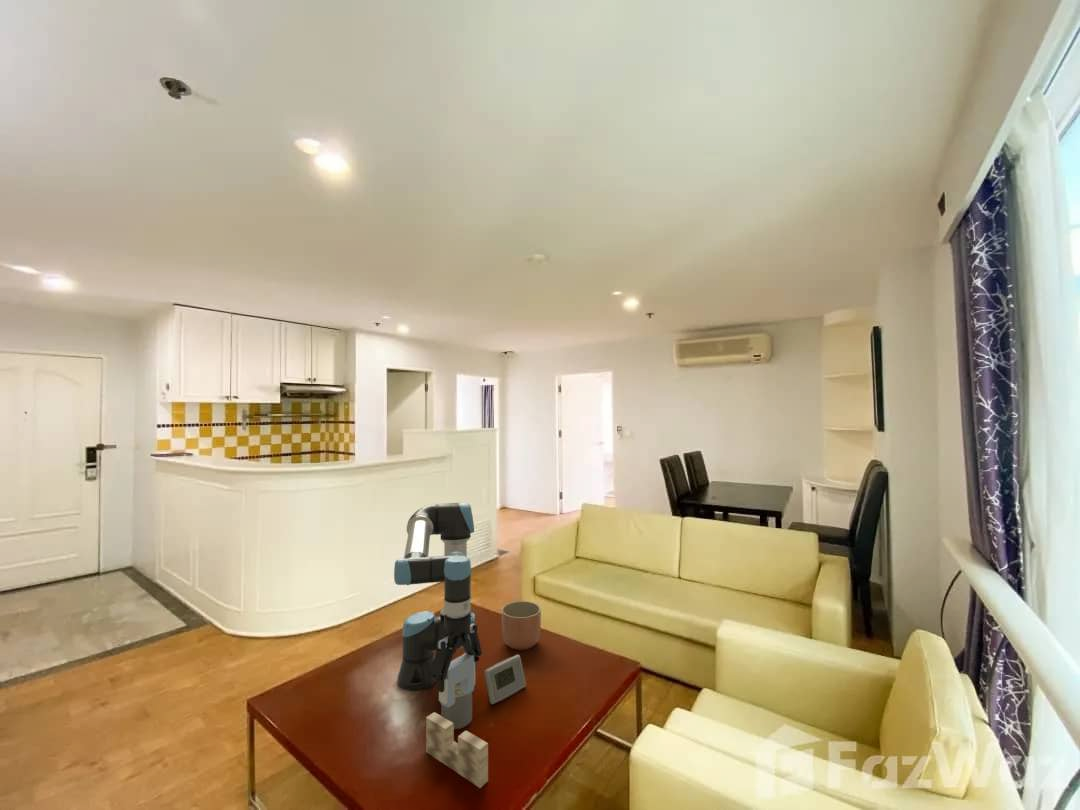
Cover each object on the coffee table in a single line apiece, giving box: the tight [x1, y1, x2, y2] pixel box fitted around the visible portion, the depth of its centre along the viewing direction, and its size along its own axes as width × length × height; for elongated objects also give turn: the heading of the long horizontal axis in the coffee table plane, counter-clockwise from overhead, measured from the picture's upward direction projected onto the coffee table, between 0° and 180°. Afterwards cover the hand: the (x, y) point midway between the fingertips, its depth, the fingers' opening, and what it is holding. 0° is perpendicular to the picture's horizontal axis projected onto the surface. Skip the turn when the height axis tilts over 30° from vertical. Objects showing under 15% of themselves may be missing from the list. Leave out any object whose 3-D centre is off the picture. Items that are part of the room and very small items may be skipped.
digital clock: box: [483, 654, 527, 705], centre depth 161 cm, size 16×9×11 cm, turn 122°
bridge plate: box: [440, 652, 475, 708], centre depth 128 cm, size 3×10×10 cm, turn 144°
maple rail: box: [425, 711, 489, 789], centre depth 127 cm, size 22×3×10 cm, turn 53°
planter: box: [501, 600, 542, 651], centre depth 195 cm, size 17×17×15 cm
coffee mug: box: [440, 681, 473, 730], centre depth 149 cm, size 13×10×10 cm
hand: (457, 692), depth 128 cm, fingers closed on bridge plate, 10 cm apart
